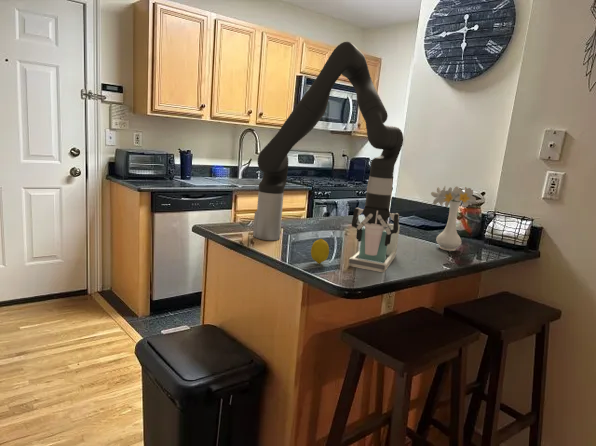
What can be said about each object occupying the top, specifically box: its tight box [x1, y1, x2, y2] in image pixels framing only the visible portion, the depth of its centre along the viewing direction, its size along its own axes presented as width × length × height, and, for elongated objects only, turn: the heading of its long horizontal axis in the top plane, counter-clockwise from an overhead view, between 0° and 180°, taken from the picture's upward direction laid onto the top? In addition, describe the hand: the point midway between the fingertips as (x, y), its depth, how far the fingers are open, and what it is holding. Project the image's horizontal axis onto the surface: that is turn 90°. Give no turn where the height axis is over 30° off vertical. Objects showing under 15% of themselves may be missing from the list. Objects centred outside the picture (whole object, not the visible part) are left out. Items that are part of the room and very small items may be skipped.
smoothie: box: [363, 211, 384, 256], centre depth 133 cm, size 6×6×14 cm
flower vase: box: [430, 185, 477, 252], centre depth 166 cm, size 13×18×25 cm
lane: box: [348, 223, 401, 273], centre depth 140 cm, size 11×23×11 cm, turn 159°
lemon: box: [310, 238, 330, 265], centre depth 131 cm, size 6×6×8 cm
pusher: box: [359, 227, 387, 263], centre depth 137 cm, size 8×1×10 cm, turn 69°
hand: (372, 243), depth 134 cm, fingers open, 8 cm apart
